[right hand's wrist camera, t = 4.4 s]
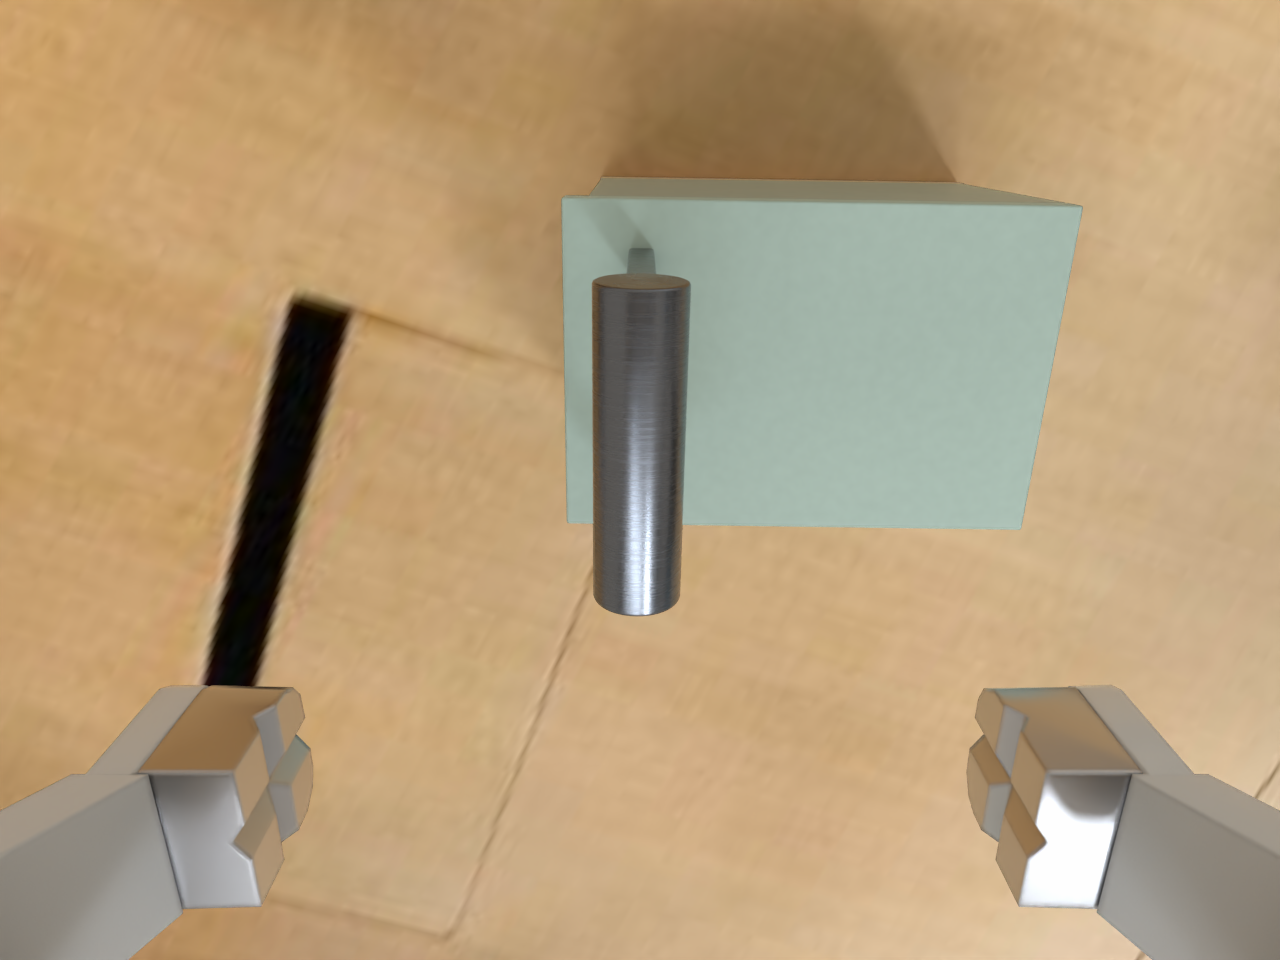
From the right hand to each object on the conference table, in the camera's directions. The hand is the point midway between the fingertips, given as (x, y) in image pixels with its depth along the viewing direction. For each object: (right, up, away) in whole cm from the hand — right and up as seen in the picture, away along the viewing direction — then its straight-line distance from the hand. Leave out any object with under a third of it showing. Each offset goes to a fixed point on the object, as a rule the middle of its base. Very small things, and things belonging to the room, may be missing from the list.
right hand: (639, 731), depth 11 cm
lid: (+5, +6, +16) cm, 18 cm away
